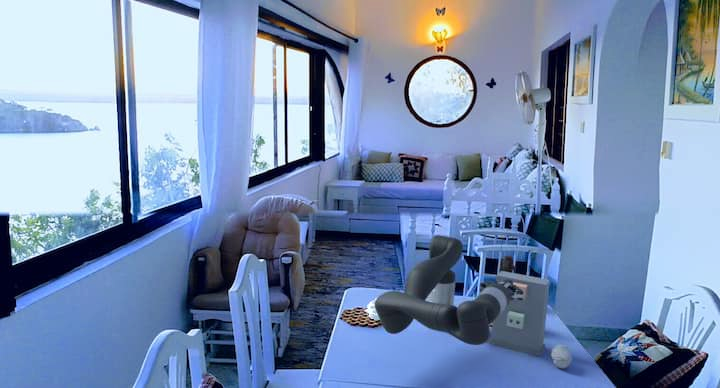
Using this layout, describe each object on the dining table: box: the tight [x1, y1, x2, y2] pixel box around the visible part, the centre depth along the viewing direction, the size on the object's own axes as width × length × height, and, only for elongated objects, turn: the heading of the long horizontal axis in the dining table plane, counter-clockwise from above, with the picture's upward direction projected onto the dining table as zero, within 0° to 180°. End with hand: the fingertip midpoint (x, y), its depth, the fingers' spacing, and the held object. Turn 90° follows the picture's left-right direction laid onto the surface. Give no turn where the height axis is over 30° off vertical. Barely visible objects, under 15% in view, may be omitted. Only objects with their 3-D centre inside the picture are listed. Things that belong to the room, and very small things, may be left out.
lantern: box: [498, 233, 518, 273], centre depth 211 cm, size 8×8×30 cm
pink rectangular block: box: [513, 282, 528, 300], centre depth 169 cm, size 3×5×4 cm
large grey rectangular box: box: [488, 270, 551, 358], centre depth 175 cm, size 8×17×24 cm, turn 60°
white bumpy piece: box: [364, 297, 380, 320], centre depth 201 cm, size 3×18×15 cm
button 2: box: [507, 311, 525, 329], centre depth 171 cm, size 3×5×4 cm
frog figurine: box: [550, 343, 573, 369], centre depth 163 cm, size 6×7×7 cm
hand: (509, 282), depth 156 cm, fingers closed
